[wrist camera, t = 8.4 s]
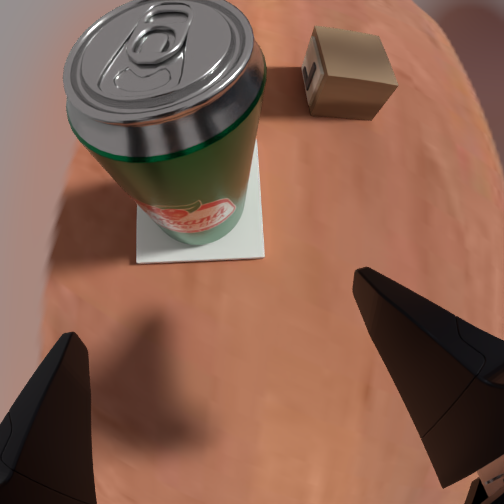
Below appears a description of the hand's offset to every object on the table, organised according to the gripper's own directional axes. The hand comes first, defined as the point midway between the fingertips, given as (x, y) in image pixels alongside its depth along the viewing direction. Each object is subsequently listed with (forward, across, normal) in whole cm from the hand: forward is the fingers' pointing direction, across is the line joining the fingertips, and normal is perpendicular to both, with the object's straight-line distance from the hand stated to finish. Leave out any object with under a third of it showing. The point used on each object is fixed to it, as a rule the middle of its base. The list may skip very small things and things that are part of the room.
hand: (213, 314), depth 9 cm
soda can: (+10, 0, +1) cm, 10 cm away
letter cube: (+14, -11, -3) cm, 18 cm away
